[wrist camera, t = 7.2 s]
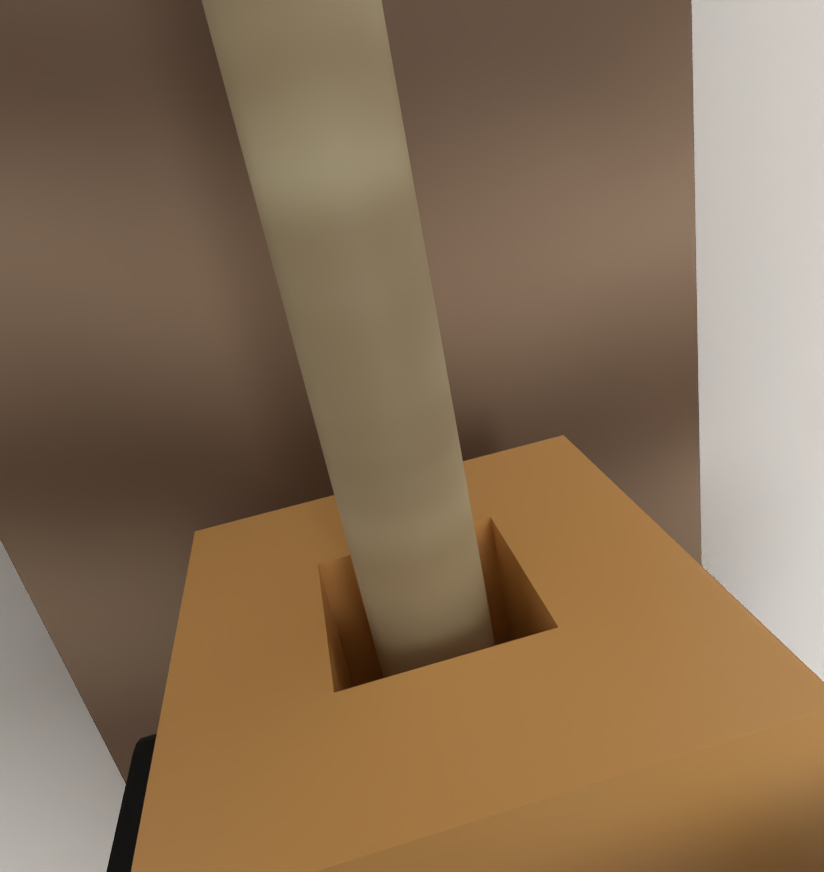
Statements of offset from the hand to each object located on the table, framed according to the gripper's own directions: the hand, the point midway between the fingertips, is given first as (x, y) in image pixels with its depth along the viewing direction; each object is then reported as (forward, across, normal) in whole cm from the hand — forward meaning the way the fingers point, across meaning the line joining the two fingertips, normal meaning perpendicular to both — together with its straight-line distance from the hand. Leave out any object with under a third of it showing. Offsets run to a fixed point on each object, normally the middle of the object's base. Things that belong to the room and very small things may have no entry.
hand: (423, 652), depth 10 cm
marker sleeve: (0, 0, 0) cm, 0 cm away
